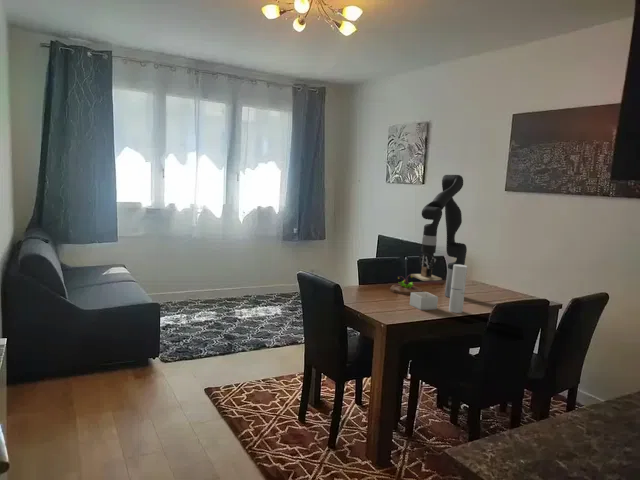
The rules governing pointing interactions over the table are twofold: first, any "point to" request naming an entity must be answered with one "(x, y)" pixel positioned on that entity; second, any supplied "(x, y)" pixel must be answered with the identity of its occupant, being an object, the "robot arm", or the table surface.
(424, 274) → the oak lid
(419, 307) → the off-white box
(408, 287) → the plant
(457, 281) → the cylindrical container
